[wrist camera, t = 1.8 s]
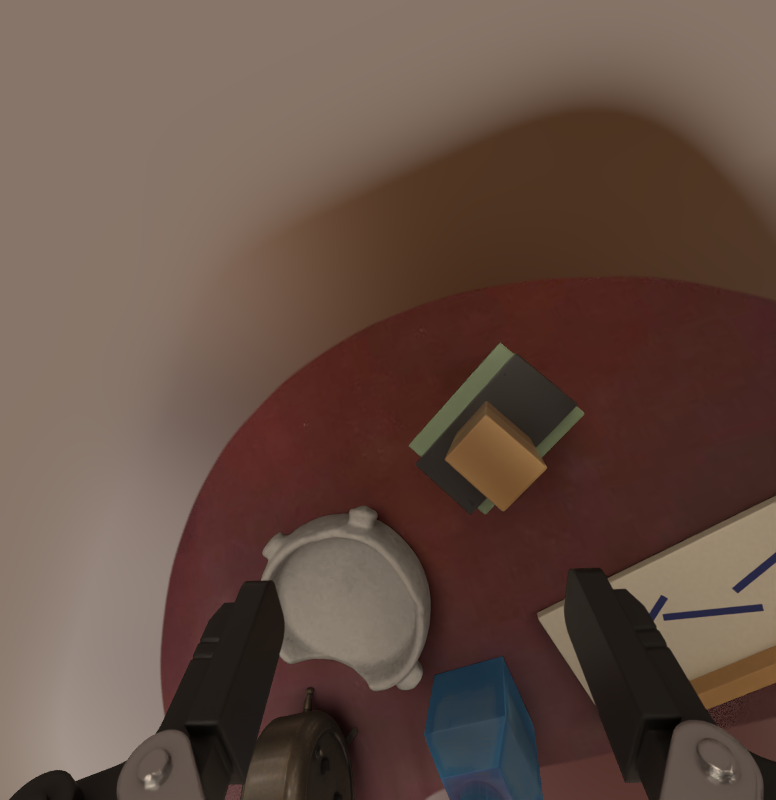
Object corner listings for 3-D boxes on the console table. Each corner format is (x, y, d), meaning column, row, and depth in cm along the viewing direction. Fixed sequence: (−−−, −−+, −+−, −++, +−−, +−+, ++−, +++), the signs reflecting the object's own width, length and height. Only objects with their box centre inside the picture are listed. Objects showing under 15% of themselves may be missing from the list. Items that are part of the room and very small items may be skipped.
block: (496, 348, 34) (499, 342, 24) (556, 399, 33) (585, 413, 23) (430, 423, 35) (408, 445, 26) (486, 473, 35) (485, 515, 25)
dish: (446, 656, 37) (439, 700, 32) (298, 658, 40) (272, 699, 35) (417, 490, 36) (406, 510, 31) (270, 506, 39) (239, 526, 34)
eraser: (513, 353, 24) (527, 347, 16) (570, 401, 23) (615, 421, 15) (420, 457, 25) (388, 501, 17) (471, 503, 25) (464, 571, 17)
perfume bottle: (502, 656, 35) (509, 798, 24) (533, 725, 35) (556, 903, 24) (434, 674, 37) (409, 817, 25) (464, 741, 37) (453, 916, 25)
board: (849, 458, 29) (878, 466, 27) (942, 585, 28) (979, 603, 26) (536, 612, 35) (539, 628, 32) (608, 721, 34) (616, 745, 32)
